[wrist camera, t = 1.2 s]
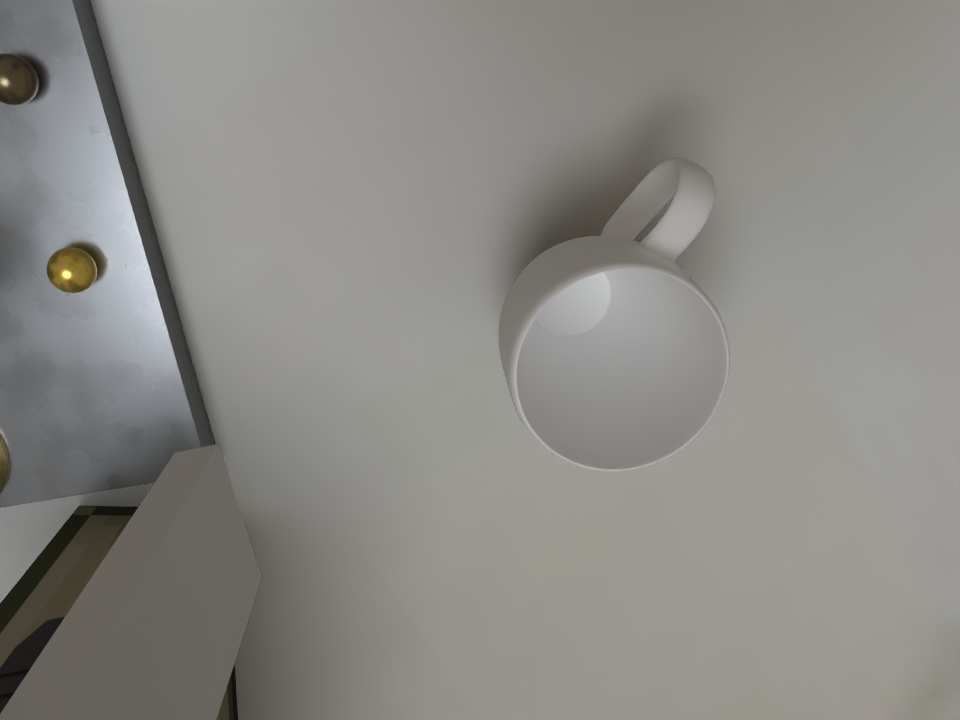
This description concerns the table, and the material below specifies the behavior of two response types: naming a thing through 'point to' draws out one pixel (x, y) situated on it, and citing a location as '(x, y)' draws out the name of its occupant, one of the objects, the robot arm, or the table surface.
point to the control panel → (71, 581)
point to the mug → (619, 333)
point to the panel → (117, 327)
